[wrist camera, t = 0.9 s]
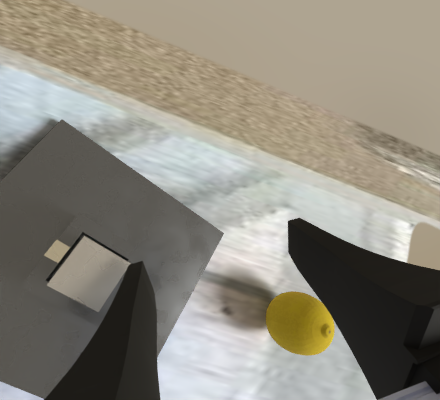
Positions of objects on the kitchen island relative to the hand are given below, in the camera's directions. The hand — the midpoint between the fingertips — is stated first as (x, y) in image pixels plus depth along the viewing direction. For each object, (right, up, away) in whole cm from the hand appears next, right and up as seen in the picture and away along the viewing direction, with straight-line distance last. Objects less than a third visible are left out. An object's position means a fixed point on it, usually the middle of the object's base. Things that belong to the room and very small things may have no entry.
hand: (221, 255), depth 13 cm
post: (-11, -3, +9) cm, 14 cm away
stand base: (-11, -3, +10) cm, 15 cm away
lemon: (+6, -10, +17) cm, 21 cm away
